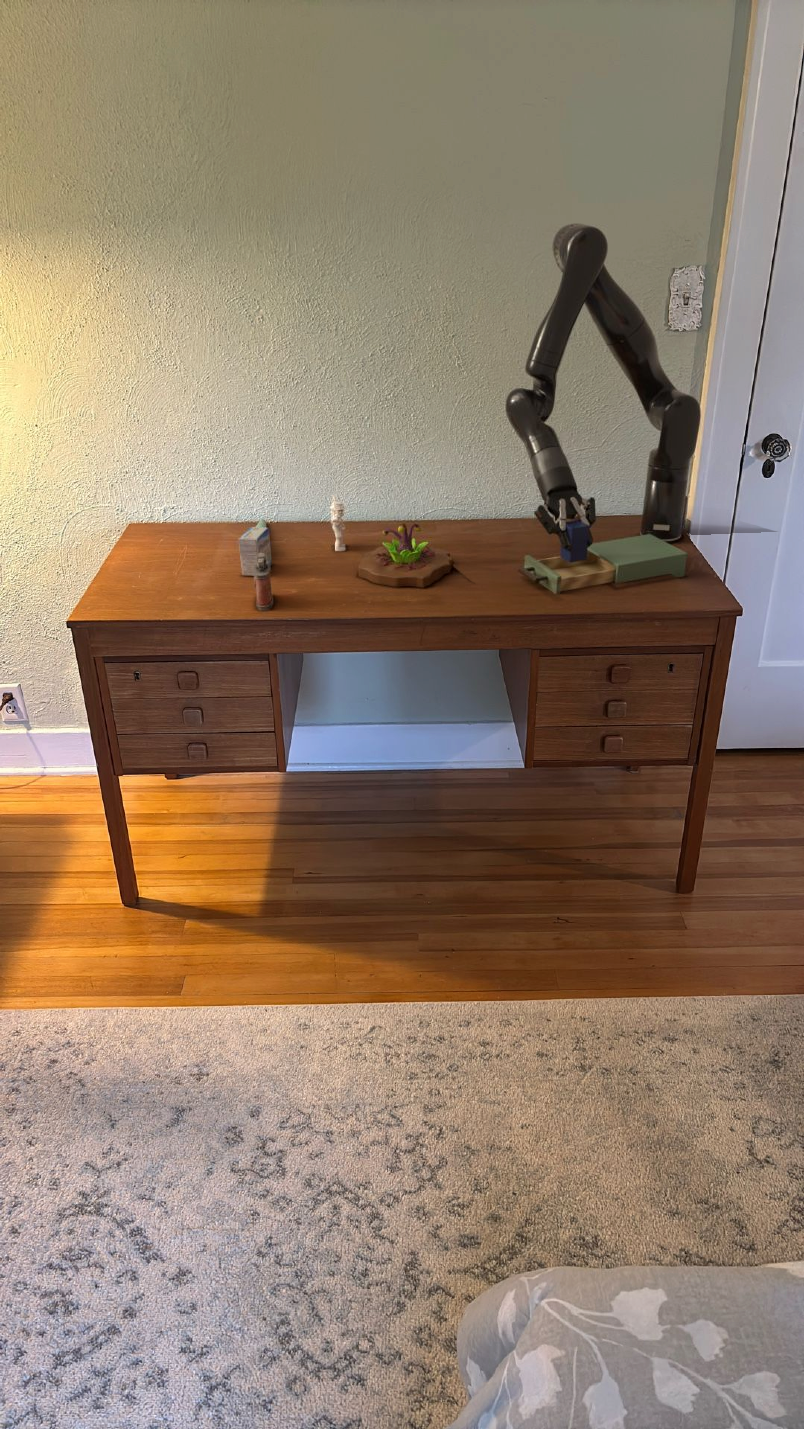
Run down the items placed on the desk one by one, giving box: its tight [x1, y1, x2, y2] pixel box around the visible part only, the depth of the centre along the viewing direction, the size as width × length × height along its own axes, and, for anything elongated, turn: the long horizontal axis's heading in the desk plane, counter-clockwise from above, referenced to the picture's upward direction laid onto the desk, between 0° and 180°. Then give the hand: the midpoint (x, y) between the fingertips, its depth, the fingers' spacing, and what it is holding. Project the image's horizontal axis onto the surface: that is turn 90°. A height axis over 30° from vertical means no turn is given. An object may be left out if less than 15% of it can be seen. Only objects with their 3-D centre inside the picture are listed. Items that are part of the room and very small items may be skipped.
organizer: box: [587, 534, 688, 584], centre depth 211 cm, size 17×14×5 cm
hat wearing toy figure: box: [329, 495, 347, 552], centre depth 225 cm, size 9×4×12 cm, turn 1°
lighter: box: [253, 553, 274, 611], centre depth 198 cm, size 8×3×10 cm, turn 5°
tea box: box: [559, 520, 590, 563], centre depth 203 cm, size 4×4×7 cm
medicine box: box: [238, 526, 273, 577], centre depth 214 cm, size 8×4×9 cm, turn 168°
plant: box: [357, 523, 453, 589], centre depth 212 cm, size 20×20×11 cm
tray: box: [517, 551, 616, 595], centre depth 206 cm, size 21×14×4 cm, turn 112°
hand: (579, 547), depth 202 cm, fingers closed on tea box, 4 cm apart
